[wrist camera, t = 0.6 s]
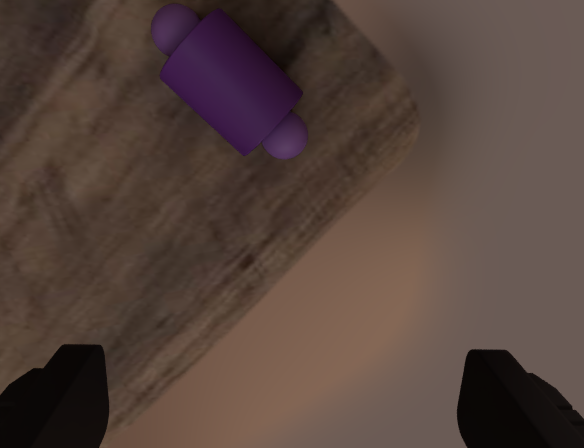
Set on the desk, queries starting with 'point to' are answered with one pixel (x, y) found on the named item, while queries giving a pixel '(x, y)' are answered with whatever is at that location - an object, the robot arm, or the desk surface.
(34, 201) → the desk surface
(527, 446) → the robot arm
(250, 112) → the candy
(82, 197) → the desk surface
